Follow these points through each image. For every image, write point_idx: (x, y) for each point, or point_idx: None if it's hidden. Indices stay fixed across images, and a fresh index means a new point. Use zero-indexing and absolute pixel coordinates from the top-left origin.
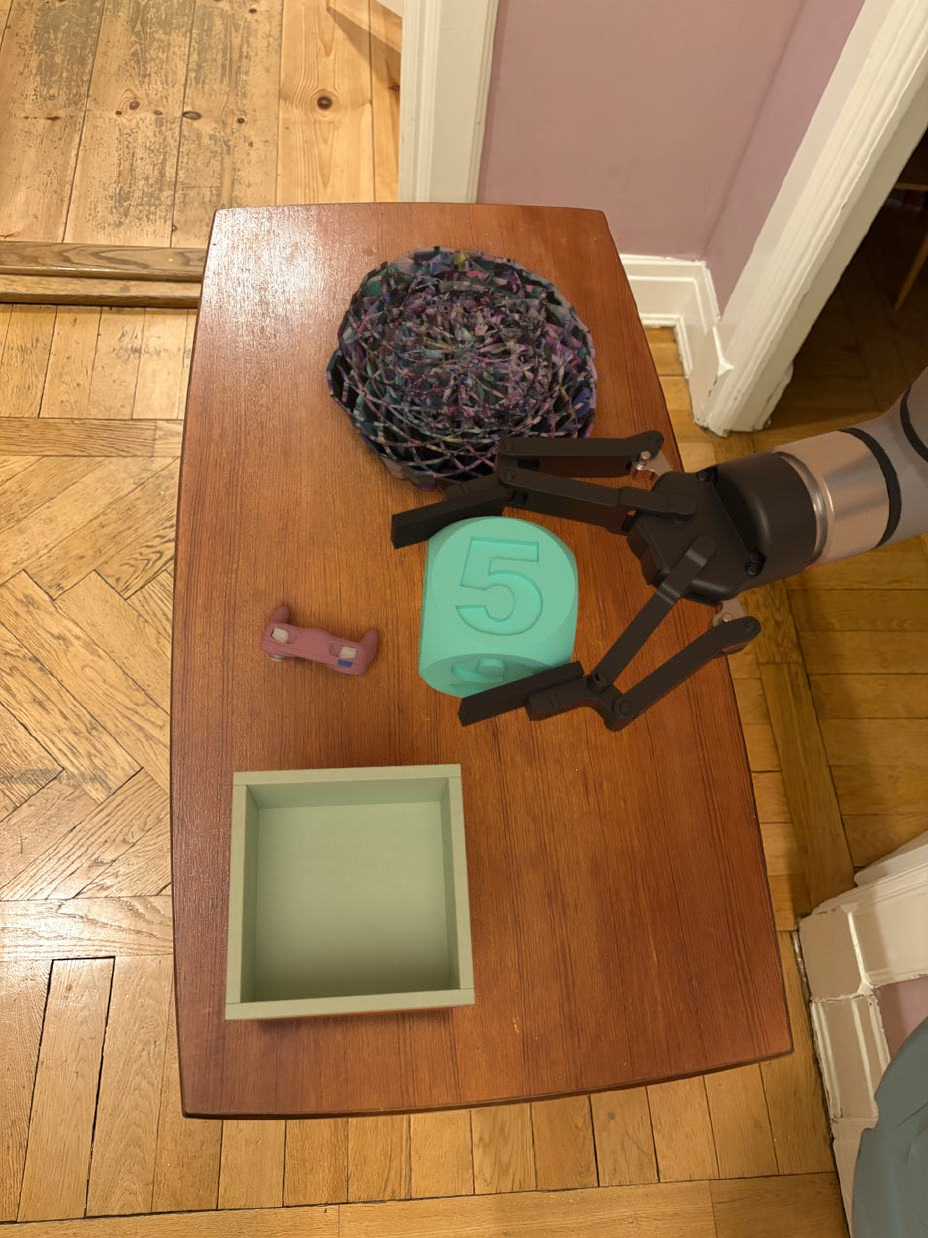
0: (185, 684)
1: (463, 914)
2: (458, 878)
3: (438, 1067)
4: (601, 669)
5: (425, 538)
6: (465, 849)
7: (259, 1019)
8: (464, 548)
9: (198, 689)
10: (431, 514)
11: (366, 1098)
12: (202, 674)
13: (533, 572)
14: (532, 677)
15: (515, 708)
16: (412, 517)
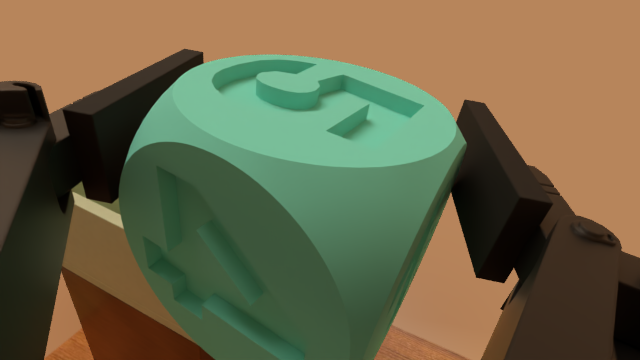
0: (410, 334)
1: (84, 203)
2: (110, 213)
3: (76, 351)
4: (29, 131)
5: None
6: (123, 228)
7: None
8: (403, 95)
9: (404, 340)
10: (481, 122)
11: None
12: (414, 347)
13: (308, 117)
14: (147, 81)
15: None
16: (477, 110)
